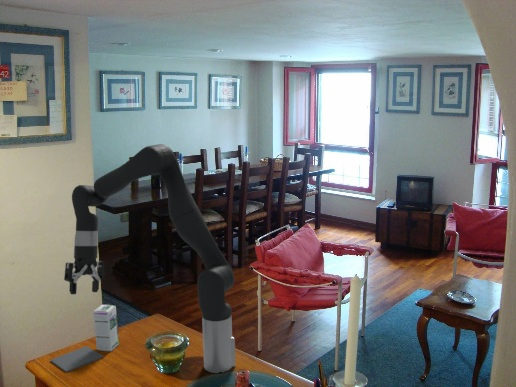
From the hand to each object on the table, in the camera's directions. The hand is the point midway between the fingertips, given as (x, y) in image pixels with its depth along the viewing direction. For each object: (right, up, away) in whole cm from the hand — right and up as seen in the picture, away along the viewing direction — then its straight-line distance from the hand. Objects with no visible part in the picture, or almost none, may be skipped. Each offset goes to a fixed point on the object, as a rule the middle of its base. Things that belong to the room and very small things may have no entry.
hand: (84, 293), depth 177 cm
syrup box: (+6, -20, +6) cm, 22 cm away
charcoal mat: (-2, -22, -2) cm, 22 cm away
